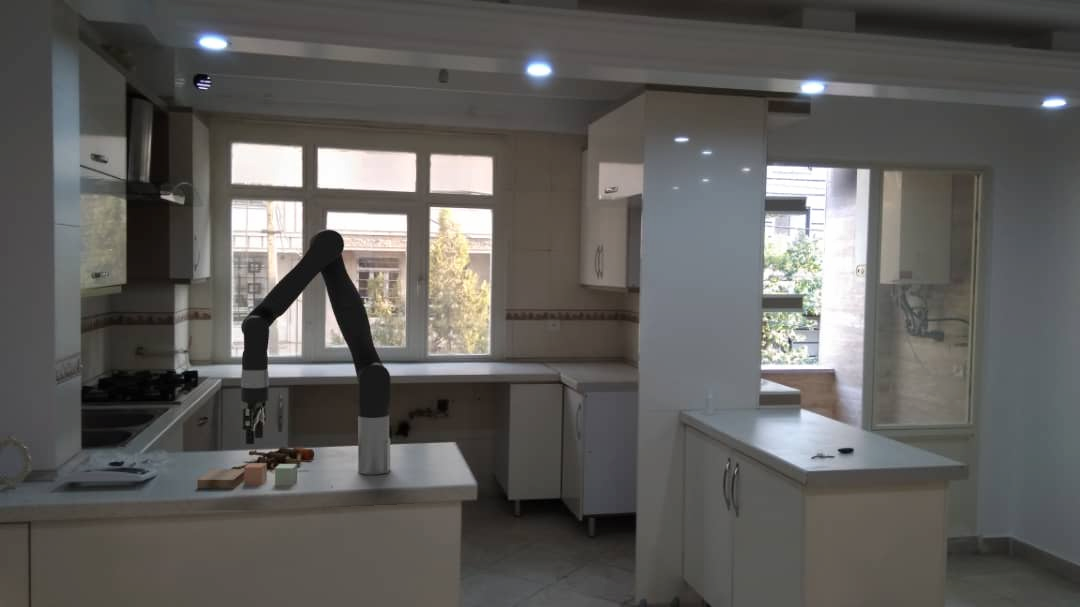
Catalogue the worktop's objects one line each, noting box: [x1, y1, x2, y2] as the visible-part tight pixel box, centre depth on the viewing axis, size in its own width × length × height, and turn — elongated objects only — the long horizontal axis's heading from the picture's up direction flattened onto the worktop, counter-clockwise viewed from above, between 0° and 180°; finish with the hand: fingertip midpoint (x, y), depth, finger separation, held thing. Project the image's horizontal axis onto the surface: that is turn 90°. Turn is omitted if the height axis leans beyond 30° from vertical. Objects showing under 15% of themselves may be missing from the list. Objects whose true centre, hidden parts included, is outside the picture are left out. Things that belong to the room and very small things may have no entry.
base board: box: [196, 468, 244, 489], centre depth 242 cm, size 10×12×2 cm
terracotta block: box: [243, 463, 268, 485], centre depth 243 cm, size 5×5×5 cm
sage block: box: [274, 463, 298, 486], centre depth 242 cm, size 5×5×5 cm
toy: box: [230, 446, 315, 470], centre depth 262 cm, size 26×6×30 cm
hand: (254, 440), depth 243 cm, fingers open, 8 cm apart
